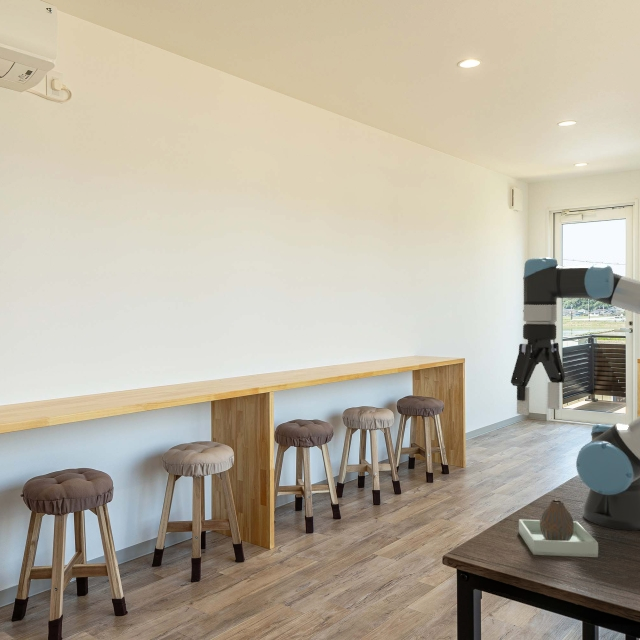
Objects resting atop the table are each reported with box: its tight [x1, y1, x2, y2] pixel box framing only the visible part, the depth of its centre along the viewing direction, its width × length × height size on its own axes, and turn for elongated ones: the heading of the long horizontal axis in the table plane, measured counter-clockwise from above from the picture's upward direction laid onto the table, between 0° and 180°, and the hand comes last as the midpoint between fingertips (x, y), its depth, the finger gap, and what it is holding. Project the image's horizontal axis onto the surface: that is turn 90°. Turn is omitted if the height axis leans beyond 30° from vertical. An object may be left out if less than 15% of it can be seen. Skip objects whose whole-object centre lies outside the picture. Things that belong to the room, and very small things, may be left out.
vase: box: [539, 499, 574, 541], centre depth 134 cm, size 7×7×9 cm
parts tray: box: [518, 519, 599, 558], centre depth 134 cm, size 13×13×3 cm
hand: (538, 411), depth 148 cm, fingers open, 13 cm apart
